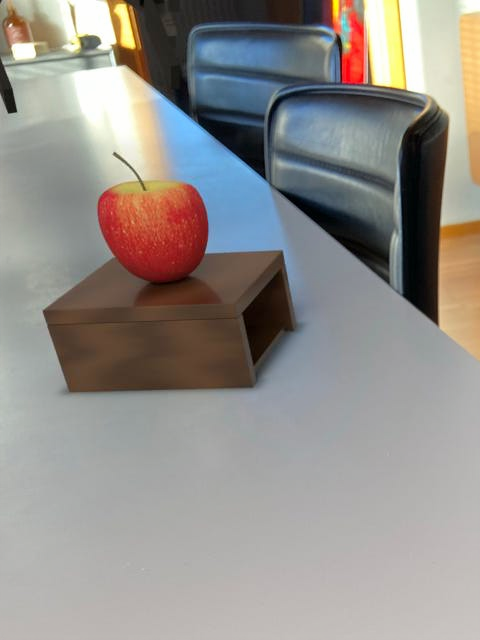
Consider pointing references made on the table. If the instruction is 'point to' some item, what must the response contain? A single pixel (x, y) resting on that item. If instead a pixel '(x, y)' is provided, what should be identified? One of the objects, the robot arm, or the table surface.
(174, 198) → the apple
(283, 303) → the shelf
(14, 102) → the robot arm
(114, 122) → the table surface
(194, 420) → the table surface
